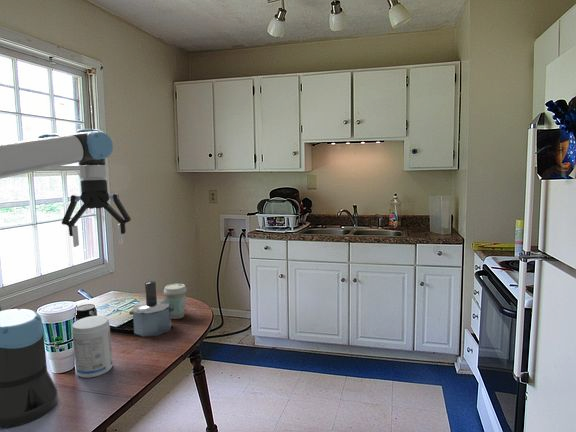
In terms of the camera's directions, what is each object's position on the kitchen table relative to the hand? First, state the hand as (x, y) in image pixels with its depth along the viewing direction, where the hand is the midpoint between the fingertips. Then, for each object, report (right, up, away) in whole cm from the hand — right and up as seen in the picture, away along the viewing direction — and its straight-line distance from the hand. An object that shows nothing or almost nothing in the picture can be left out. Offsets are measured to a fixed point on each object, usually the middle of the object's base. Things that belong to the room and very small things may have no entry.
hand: (98, 245), depth 130 cm
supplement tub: (+6, -35, -15) cm, 39 cm away
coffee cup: (+18, -30, +25) cm, 43 cm away
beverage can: (-6, -33, +4) cm, 33 cm away
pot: (+13, -31, +13) cm, 36 cm away
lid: (+13, -23, +12) cm, 29 cm away
